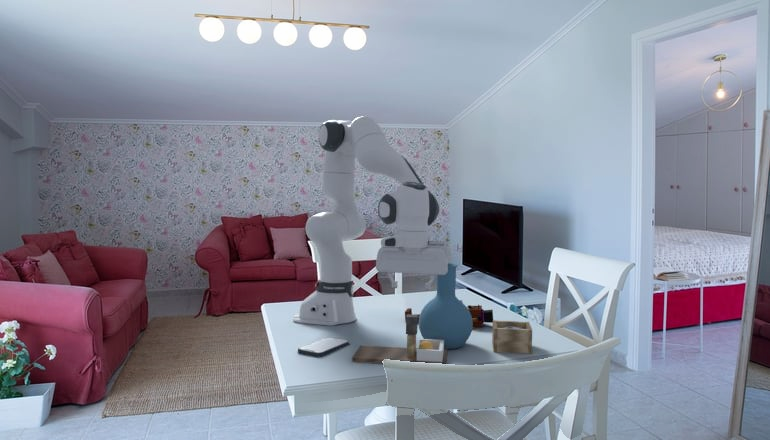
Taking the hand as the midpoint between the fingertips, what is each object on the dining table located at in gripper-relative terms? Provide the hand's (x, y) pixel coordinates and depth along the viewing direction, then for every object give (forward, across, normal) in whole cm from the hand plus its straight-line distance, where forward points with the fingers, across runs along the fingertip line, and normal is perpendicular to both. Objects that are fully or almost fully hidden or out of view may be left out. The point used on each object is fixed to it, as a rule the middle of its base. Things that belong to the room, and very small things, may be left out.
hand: (411, 288), depth 165 cm
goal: (+19, -6, 0) cm, 20 cm away
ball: (+17, -5, 0) cm, 17 cm away
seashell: (+20, -30, -15) cm, 38 cm away
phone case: (+21, +26, -5) cm, 34 cm away
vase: (+20, -10, -15) cm, 27 cm away
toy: (+21, -10, -41) cm, 47 cm away
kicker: (+19, -1, 0) cm, 19 cm away
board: (+20, +2, 0) cm, 20 cm away
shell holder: (+20, -30, -15) cm, 38 cm away
